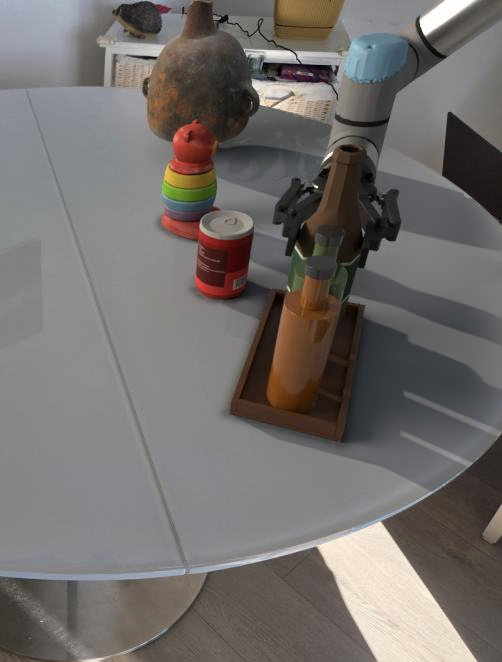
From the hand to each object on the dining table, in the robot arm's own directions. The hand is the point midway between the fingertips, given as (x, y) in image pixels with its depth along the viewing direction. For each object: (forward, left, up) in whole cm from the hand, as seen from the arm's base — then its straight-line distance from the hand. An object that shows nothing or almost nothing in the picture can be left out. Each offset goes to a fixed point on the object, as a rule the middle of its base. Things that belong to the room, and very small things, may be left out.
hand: (325, 252), depth 75 cm
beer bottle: (0, -5, -13) cm, 14 cm away
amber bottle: (0, +10, -15) cm, 18 cm away
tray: (0, +2, -15) cm, 15 cm away
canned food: (+14, -12, -15) cm, 24 cm away
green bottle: (0, +3, -15) cm, 15 cm away
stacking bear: (+24, -30, -15) cm, 41 cm away
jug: (+32, -63, -15) cm, 73 cm away
